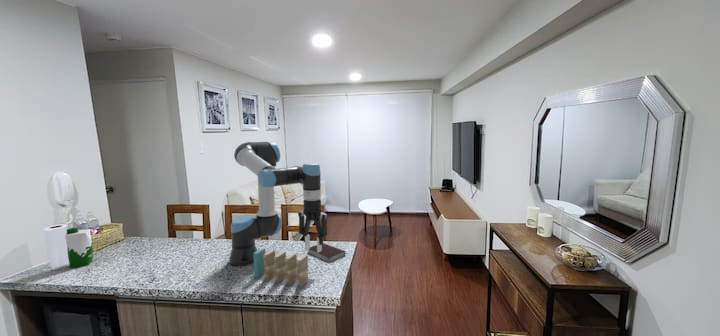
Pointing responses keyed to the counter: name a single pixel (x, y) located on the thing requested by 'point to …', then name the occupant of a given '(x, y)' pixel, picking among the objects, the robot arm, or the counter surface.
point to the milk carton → (79, 247)
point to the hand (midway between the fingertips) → (313, 250)
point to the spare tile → (259, 262)
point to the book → (327, 252)
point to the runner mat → (283, 282)
